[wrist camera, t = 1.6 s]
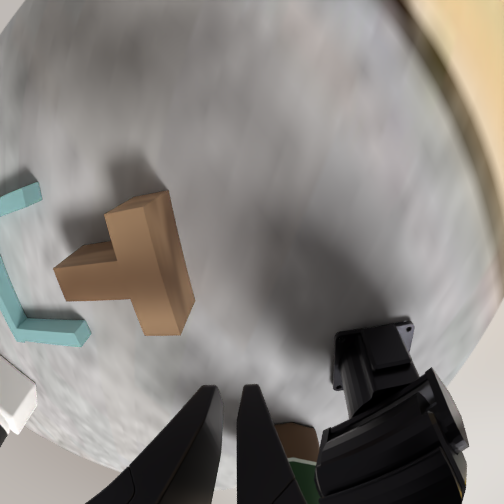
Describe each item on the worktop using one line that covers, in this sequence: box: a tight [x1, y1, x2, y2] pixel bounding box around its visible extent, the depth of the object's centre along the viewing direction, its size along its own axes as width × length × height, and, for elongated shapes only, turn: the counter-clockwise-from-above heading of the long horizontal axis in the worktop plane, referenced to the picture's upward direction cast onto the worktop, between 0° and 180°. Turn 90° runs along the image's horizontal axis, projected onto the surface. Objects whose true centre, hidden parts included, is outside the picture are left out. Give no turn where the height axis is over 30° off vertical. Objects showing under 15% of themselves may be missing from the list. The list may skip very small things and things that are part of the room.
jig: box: [0, 182, 91, 347], centre depth 20 cm, size 14×10×2 cm
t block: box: [53, 190, 195, 336], centre depth 18 cm, size 8×8×4 cm
